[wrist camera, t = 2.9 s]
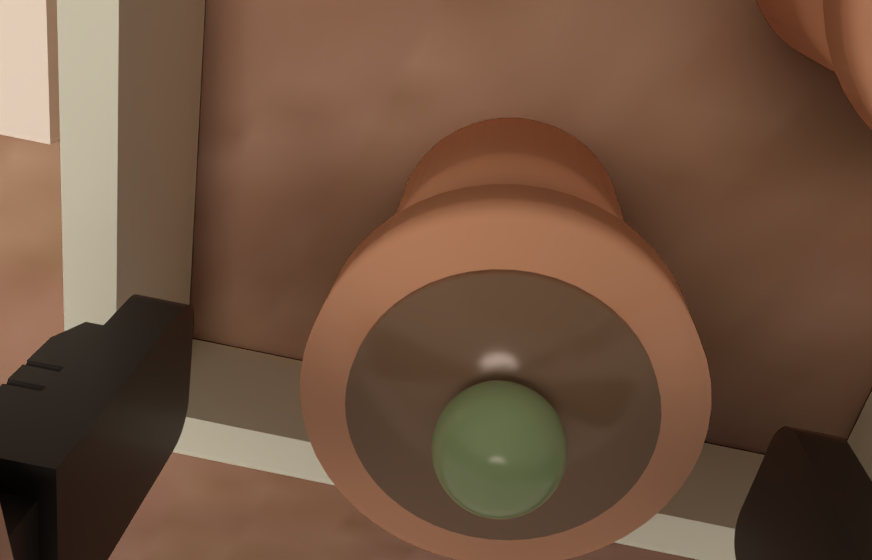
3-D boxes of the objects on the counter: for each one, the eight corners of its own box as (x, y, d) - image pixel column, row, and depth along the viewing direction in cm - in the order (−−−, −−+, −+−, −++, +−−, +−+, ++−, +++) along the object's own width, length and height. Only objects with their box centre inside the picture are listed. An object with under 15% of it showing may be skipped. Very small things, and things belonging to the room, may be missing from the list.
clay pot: (677, 124, 17) (818, 337, 9) (602, 362, 20) (661, 698, 11) (399, 68, 17) (289, 231, 9) (361, 313, 20) (247, 613, 11)
